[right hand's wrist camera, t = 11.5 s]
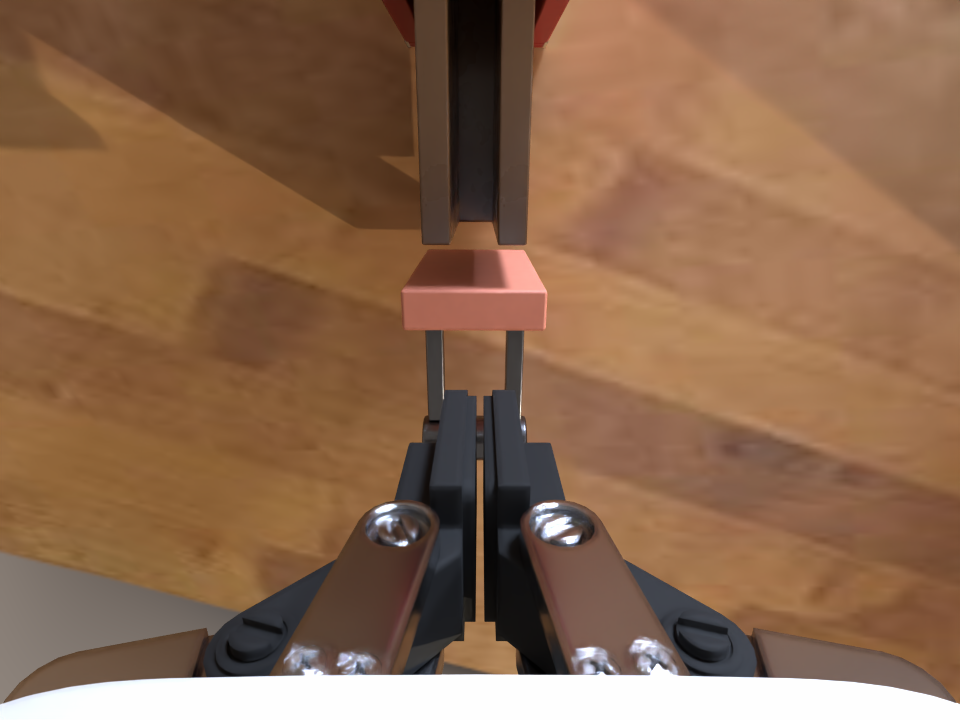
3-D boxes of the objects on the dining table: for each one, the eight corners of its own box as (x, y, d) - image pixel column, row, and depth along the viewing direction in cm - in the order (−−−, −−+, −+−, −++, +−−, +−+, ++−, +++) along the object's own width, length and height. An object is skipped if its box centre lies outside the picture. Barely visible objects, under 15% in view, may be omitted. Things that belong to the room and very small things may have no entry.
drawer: (519, 401, 24) (536, 503, 17) (431, 401, 24) (410, 503, 17) (547, -394, 15) (611, -929, 8) (407, -395, 15) (338, -934, 8)
